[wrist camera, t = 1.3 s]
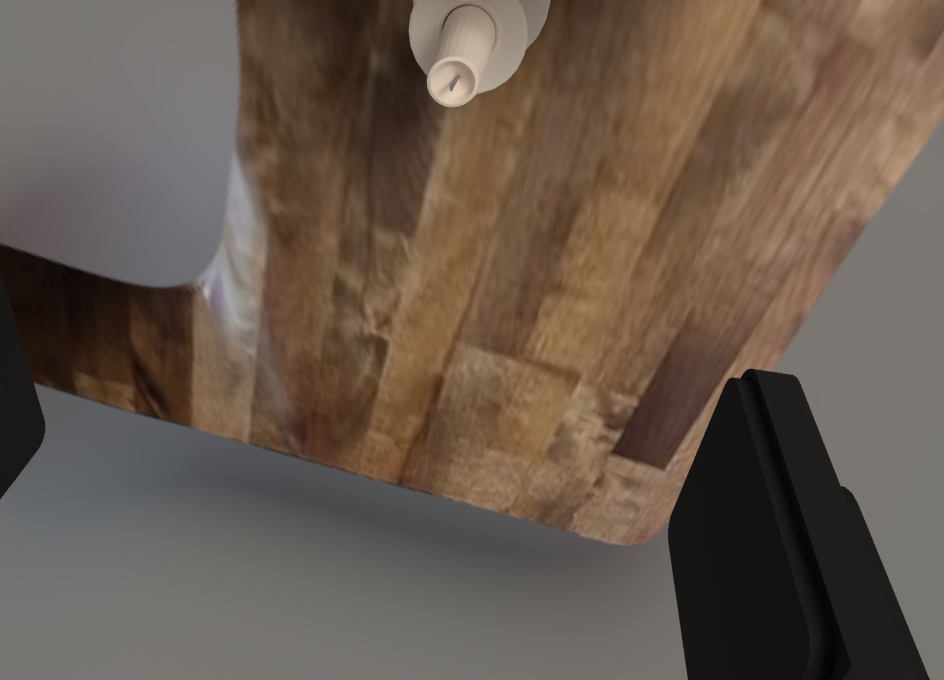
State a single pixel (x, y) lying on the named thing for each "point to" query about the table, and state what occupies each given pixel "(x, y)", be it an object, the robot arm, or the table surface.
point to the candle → (472, 43)
